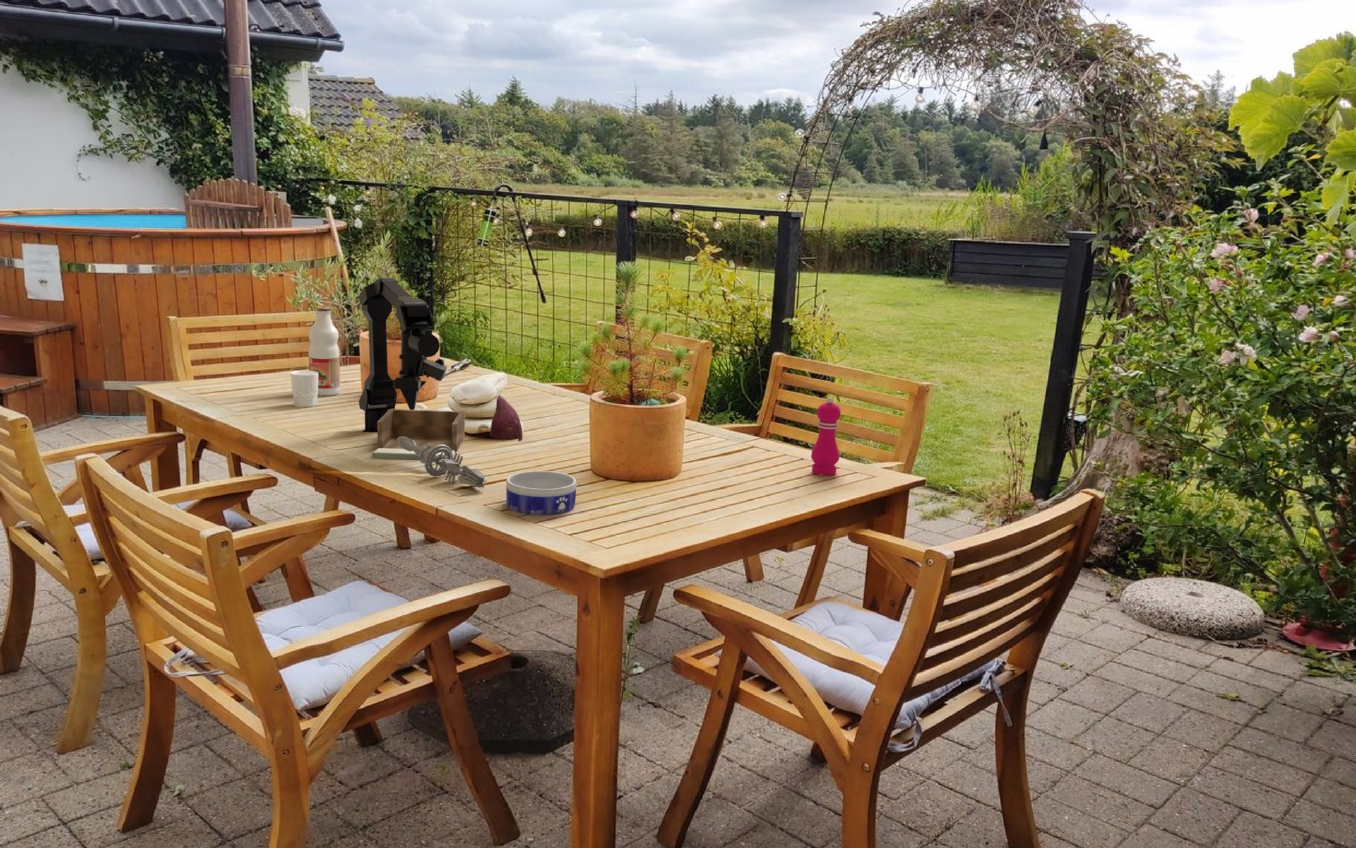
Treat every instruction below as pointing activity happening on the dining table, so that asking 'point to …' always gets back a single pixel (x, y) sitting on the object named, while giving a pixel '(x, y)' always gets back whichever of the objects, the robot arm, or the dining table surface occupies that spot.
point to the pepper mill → (826, 439)
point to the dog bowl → (540, 492)
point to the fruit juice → (325, 352)
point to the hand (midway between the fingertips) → (412, 409)
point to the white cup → (305, 388)
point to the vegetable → (505, 422)
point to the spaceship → (443, 462)
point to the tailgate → (398, 454)
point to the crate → (422, 428)
